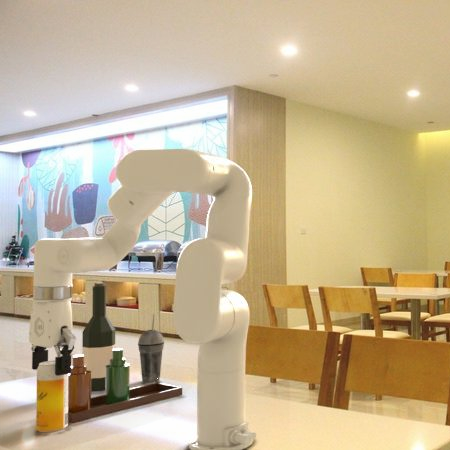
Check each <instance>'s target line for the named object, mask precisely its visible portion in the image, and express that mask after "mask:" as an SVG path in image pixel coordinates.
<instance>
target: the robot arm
mask: <svg viewBox="0 0 450 450" xmlns="http://www.w3.org/2000/svg"><path fill="white" fill-rule="evenodd" d="M115 175H116V180H117V182H118V183H119V185H120V186H119V187H118V188H117V189H116V191H114V192H113V193H112V194H111V195H110V196H109V197H108V199H107V203H106V205H107V209H108V211H109V213H110V214H111V215H112V217H113V218H114V219H115V222H114V223H113V224H112V226H111V227H110V228H109V229H108V230H107V231H106V232H104V234H103V235H102V236H101V237H79V238H77V237H75V238H74V237H73V238H41V239H38V240H37V241H35V243H34V246H33V247H34V249H33V253H34V254H33V287H32V290H33V291H32V292H33V293H32V295H33V296H32V304H31V305H32V306H31V311H30V318H29V332H28V333H29V334H28V342H29V343H30V344H31V345H32V346H31V348H30V350H31V351H32V354H31V370H33V371H37V368H38V366H39V363H42V362H46V361H49V349H50V348H51V349H52V348H54V350H55V352H56V353H55V354H56V356H55V358H54V360H55V375H57V376H59V375H64V374H69V373H71V366H72V356H73V355H74V350H75V345H76V341H77V337H76V336H75V335H74V333H73V311H72V310H73V309H72V303H71V301H73V275H74V274H81V273H89V272H104V271H108V270H110V269H112V268H114V267H116V265H118V264H120V262H122V260H124V259H125V257H126V256H127V255H128V254H129V253H130V252H131V251H132V250H133V249H134V248H135V246H136V245H137V243H138V240H139V237H140V234H141V231H142V225H143V223H144V222H145V221H146V220H148V219H149V217H150V216H151V215H152V214H154V212H155V211H156V210H157V209H158V208H159V207H160V206H161V205H162V204H163V203H164V202H165V201H166V200H167V199H168V198H169V197H170V196H171V195H172V194H173V193H189V194H196V195H207V196H211V197H212V198H213V201H212V203H211V205H210V207H209V210H208V211H207V213H208V214H207V217H206V231H205V237H200V238H197V239H194V240H191V241H190V242H189V243H187V244H186V245H185V246H184V248H183V249H182V250H181V252H180V254H179V257H178V259H177V263H176V270H175V279H174V280H175V282H174V295H173V296H174V297H173V310H172V312H173V313H172V317H173V318H172V319H173V326H174V328H175V329H174V330H175V331H176V333H177V335H178V336H179V337H180V338H181V339H182V341H184V342H186V343H188V344H192V345H199V348H198V354H197V370H196V371H197V372H196V373H197V374H196V378H197V381H196V384H197V385H196V387H197V388H196V392H197V393H196V435H195V436H193V437H192V438H191V439H190V440H189V442H188V448H189V450H245V449H246V448H249V447H250V446H251V445H252V444H253V442H254V440H255V439H256V438H257V432H255V431H251V430H249V422H246V361H247V359H246V358H247V357H246V356H247V340H248V339H247V338H248V334H249V333H248V332H249V326H250V319H251V318H250V316H251V315H250V314H251V313H250V307H249V305H248V302H247V300H246V298H245V297H244V296H243V295H242V294H240V293H239V292H236V291H235V290H230V289H222V287H223V286H224V285H228V284H232V283H236V282H238V281H239V280H241V279H242V278H243V277H244V275H245V273H246V271H247V267H248V256H249V255H248V254H249V239H250V221H251V220H250V219H251V210H252V203H253V202H252V201H253V188H252V183H251V180H250V177H249V176H248V173H246V171H245V169H243V168H242V167H241V166H240V165H239V164H238V163H236V162H234V161H232V160H231V159H228V158H226V157H223V156H221V155H216V154H212V153H209V152H208V153H207V152H203V151H199V150H195V149H191V148H190V149H188V148H164V149H163V148H162V149H136V150H131V151H130V152H127V153H126V154H124V155H123V156H122V158H120V160H119V161H118V163H117V165H116V169H115Z"/></svg>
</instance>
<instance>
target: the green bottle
mask: <svg viewBox="0 0 450 450" xmlns="http://www.w3.org/2000/svg"><path fill="white" fill-rule="evenodd" d="M130 367H131V366H130V363H127V362H126V358H125V357H124V349H123V348H119V347H118V348H115V349H113V350H112V359H110V365H107V366H106V367H105V390H104V395H105V405H109V404H113V403H117V402H121V401H125V400H129V389H130V373H131V372H130Z"/></svg>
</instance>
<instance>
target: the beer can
mask: <svg viewBox="0 0 450 450" xmlns="http://www.w3.org/2000/svg"><path fill="white" fill-rule="evenodd" d="M35 408H36V413H35V414H36V415H35V416H36V418H35V420H36V421H35V423H36V424H35V425H36V426H35V429H36V431H37V432H38V433H39V432H40V433H53V432H57V431H61V430H64V429H66V428H67V427H68V426H69V423H68V374H64V375H59V376H57V375H55V359H54V360H48V361H46V362H42V363H39V366H38V368H37V369H36V407H35Z"/></svg>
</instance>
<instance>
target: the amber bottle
mask: <svg viewBox="0 0 450 450" xmlns="http://www.w3.org/2000/svg"><path fill="white" fill-rule="evenodd" d="M91 398H92V392H91V371H89V370H87V365H84V355H82V354H75V355H72V365H71V373H69V374H68V412H71V413H76V412H80V411H84V410H89V409H91Z"/></svg>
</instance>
